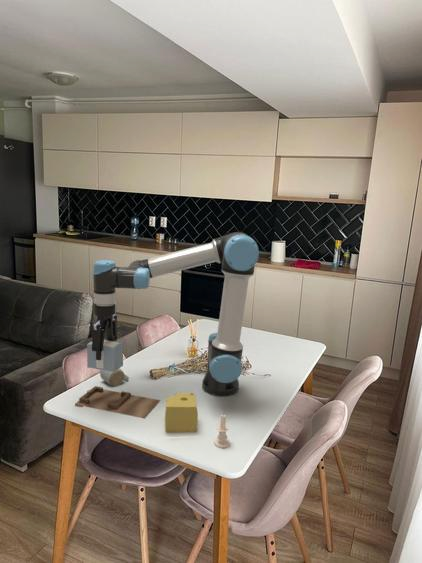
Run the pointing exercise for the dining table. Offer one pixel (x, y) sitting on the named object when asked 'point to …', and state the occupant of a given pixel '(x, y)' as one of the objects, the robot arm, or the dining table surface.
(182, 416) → the cheese
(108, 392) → the ledge board
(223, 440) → the chess piece
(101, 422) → the dining table surface
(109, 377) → the ceramic mug
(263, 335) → the dining table surface
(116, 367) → the pale blue block
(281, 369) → the dining table surface
